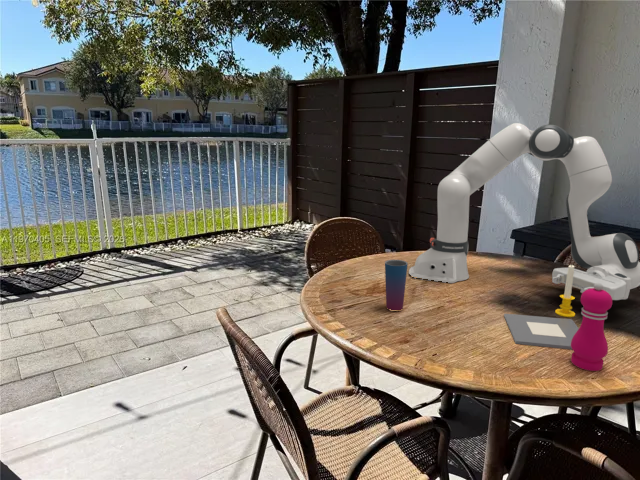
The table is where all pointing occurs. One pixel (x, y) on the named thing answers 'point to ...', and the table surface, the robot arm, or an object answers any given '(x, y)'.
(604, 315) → the pepper mill
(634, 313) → the table surface
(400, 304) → the cup
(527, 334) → the tile
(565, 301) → the candle
